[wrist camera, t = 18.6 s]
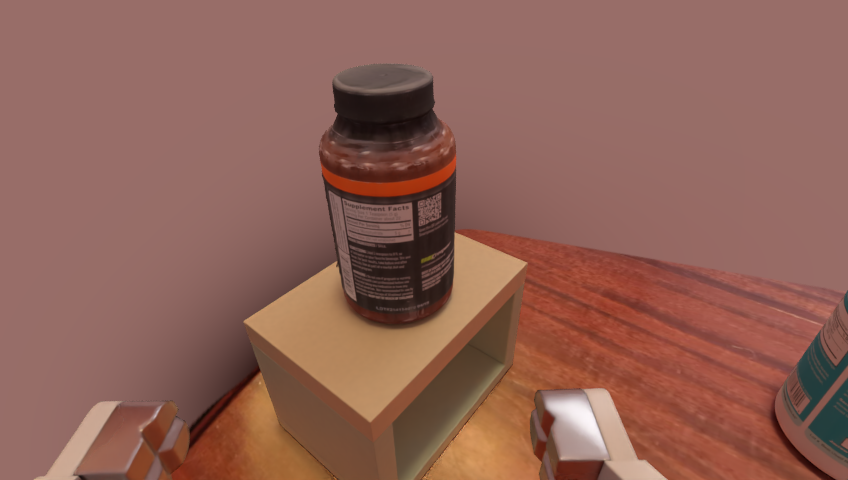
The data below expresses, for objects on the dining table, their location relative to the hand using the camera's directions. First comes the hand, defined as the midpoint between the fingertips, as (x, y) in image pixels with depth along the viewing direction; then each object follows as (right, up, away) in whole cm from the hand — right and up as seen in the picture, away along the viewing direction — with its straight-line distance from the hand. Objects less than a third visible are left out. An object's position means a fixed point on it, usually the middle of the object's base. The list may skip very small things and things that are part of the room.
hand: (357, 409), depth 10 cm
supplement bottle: (0, +1, +14) cm, 14 cm away
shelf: (0, -6, +19) cm, 20 cm away
